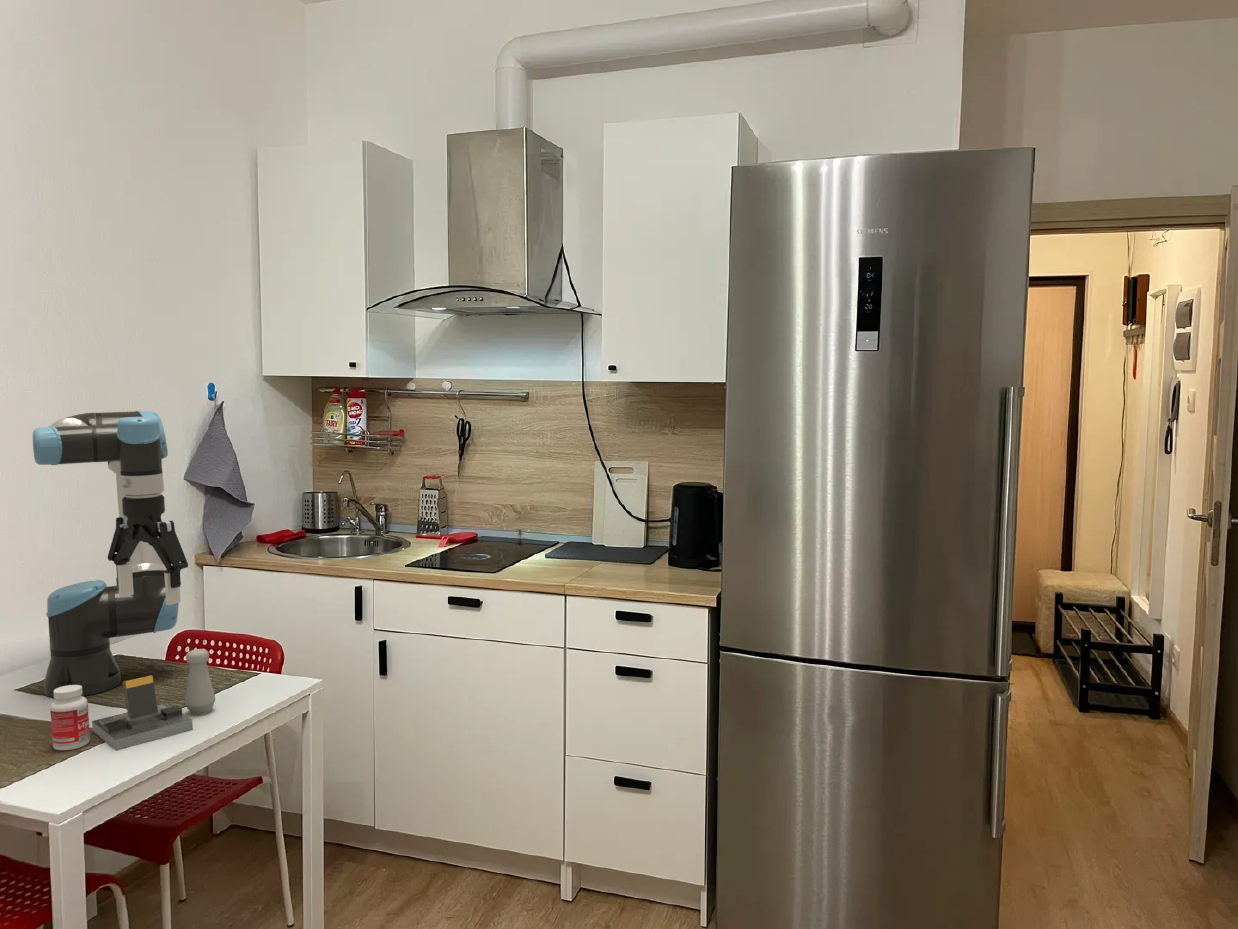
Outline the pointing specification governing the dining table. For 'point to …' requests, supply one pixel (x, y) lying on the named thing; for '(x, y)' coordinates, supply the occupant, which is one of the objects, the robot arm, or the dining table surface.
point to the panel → (141, 727)
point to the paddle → (140, 699)
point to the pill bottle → (69, 718)
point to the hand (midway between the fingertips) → (149, 599)
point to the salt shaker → (199, 683)
